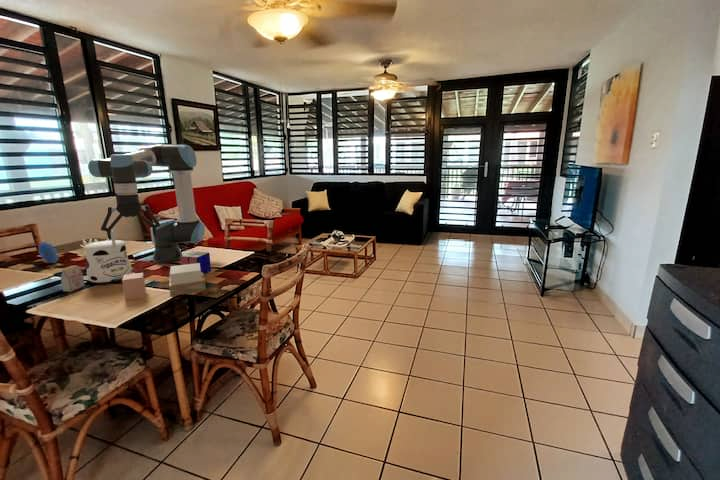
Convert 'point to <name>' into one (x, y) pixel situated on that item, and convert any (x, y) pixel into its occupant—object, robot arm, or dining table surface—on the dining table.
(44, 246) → the blue thick disc
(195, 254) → the puzzle cube
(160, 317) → the dining table surface
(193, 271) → the tower top
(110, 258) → the milk container
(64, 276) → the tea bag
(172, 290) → the tower base
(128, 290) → the terracotta block
